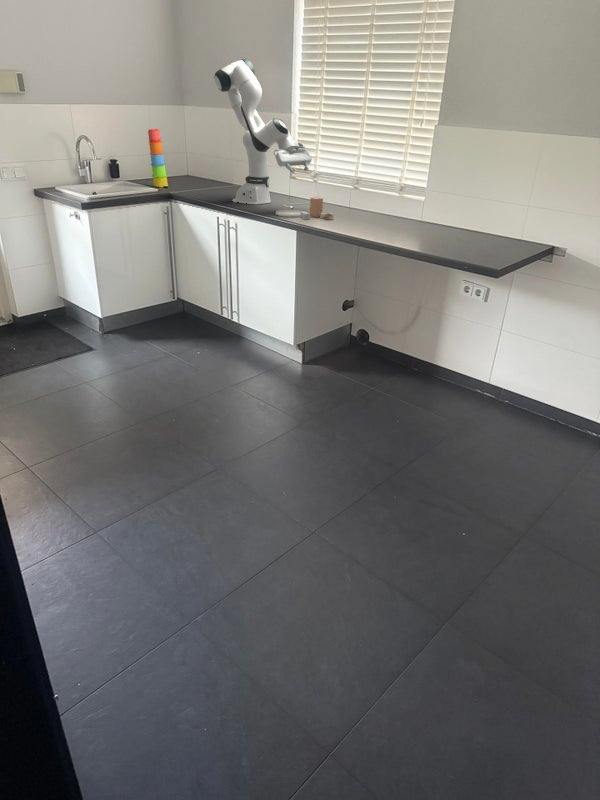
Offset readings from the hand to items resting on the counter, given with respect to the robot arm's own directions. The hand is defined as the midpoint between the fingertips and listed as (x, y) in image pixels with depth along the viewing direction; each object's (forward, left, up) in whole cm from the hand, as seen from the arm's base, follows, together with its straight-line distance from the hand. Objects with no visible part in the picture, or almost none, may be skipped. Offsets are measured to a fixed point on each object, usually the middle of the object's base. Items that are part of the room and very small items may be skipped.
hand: (299, 171), depth 294 cm
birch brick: (+18, -13, -21) cm, 31 cm away
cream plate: (-3, -8, -21) cm, 22 cm away
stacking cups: (-107, +53, -21) cm, 121 cm away
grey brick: (+7, -15, -21) cm, 27 cm away
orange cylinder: (+11, -7, -21) cm, 25 cm away
